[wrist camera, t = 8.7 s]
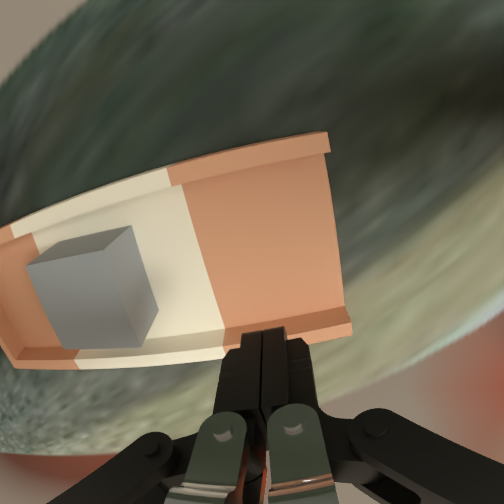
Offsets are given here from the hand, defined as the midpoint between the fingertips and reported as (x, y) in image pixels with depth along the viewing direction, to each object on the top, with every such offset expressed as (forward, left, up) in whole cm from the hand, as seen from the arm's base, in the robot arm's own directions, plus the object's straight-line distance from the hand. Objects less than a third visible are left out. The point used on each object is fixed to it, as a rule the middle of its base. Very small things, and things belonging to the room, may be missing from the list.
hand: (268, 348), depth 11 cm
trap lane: (+10, 0, -9) cm, 13 cm away
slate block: (+10, -1, -8) cm, 13 cm away
